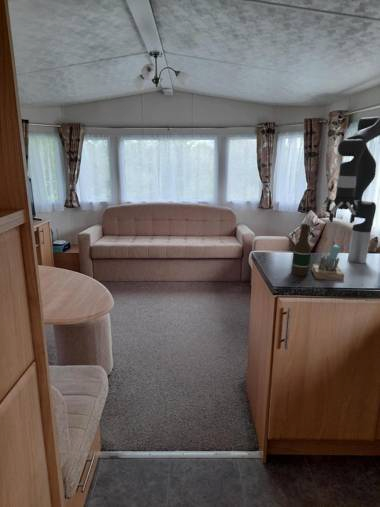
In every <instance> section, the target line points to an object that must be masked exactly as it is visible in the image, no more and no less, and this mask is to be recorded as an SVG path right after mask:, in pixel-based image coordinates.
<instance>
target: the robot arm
mask: <svg viewBox="0 0 380 507" xmlns="http://www.w3.org/2000/svg"><path fill="white" fill-rule="evenodd" d="M378 137H380V116H369V117H361V118H360V119H359V120H358V123H357V131H356V132H354V134H352V135H351V136H348V137H345V138H343V139H341V141H340V142H339V144H338V146H337V152H338V154H339V156H341V157H352V159H351V160H349V161H344V162H342V163H340V167H339V172H338V173H339V174H338V179H337V184H336V192H335V197H334V199H332V198H327V202H326V206H325V212H326V213H328V214H329V217H328V220H329V222H330V223H333V220H334V213H335V212H336V211H337V210H338V209H339V210H349V212H350V213H351V214H350V219H349V223H350V224H353V223H354V222H355V218H356V219H357V218H358V219H364V221H362V222H361V223H356V224H353V225H352V229H351V236H350V242H349V247H348V254H347V255H348V256H347V262H351V263H355V264H365V263H366V262H367V257H368V251H369V246H370V238H371V234H372V229H373V225H374V221H375V220H374V218H375V214H376V210H377V205H376V203H375V202H374V201H369V200H368V201H367V200H363V195H364V192H365V191H366V190H367V188H368V187H369V186H370V185H371V184H372V182H373V181H374V180H375V177H376V170H377V162H376V158H374V156H373V154H372V153H371V151H370V150H369V147H368V143H369V142H370V141H372V140H373V139H375V138H378ZM333 203H334V206H332V208H331V205H332V204H333Z"/></svg>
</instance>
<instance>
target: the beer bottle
mask: <svg viewBox="0 0 380 507" xmlns="http://www.w3.org/2000/svg"><path fill="white" fill-rule="evenodd" d="M309 228H310V224H307V223H302V224H301V225H300V232H299V238H298V240H297V241H296V243H295V245H294V247H293V252H292V262H291V274H293V275H294V276H298V277H306V276H308V274H309V271H310V270H309V269H310V260H311V253H312V248H311V245H310V243H309Z"/></svg>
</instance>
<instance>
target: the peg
mask: <svg viewBox="0 0 380 507" xmlns="http://www.w3.org/2000/svg"><path fill="white" fill-rule="evenodd" d="M340 250H341V247H340V246H339V245H338V244H334V245H332V247H331V249H330V253H329V257H328V260H327V263H326V266H325V268H326V269H327V270H328V267H329V263H330V260H331V259H332V260H333V263H332V266H331V269H332V267H333V266H334V263H335V260H336V259H337V258H338V255H339V253H340Z"/></svg>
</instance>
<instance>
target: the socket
mask: <svg viewBox="0 0 380 507" xmlns="http://www.w3.org/2000/svg"><path fill="white" fill-rule="evenodd" d="M329 255H330V254H329ZM329 255H327V256H326V255H322V256H321V257H320V260H319V264H317V263H316V264H315V263H312V265H311V266H312V268H311V271H312V274H313V276H314V278H315V279H319V280H329V281H338V282H344V279H345V274H344V272H343V271H342V270H341V268H340V267H339V266H338V265H339V262H340V257H337V258H336V260H335V262H334V265H333V267H332V269H331V266H332V263H333V260H332V259H331V260H330V263H329V267H328V270H327V269H326V268H325V266H326V263H327V260H328V257H329Z"/></svg>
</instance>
